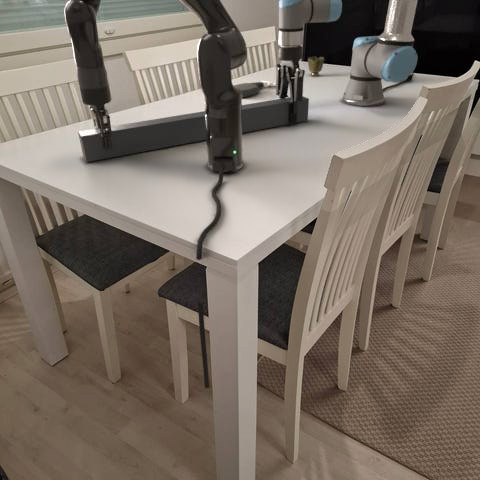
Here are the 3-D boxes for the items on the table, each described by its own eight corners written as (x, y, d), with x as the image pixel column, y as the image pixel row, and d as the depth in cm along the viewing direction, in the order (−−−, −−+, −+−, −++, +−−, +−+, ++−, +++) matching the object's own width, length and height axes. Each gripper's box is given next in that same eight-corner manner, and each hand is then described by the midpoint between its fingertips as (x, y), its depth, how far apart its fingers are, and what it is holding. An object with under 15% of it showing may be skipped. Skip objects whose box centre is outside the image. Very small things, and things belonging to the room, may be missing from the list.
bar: (86, 162, 123) (81, 136, 119) (83, 156, 126) (77, 131, 123) (307, 120, 151) (309, 98, 147) (299, 117, 154) (300, 95, 151)
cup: (304, 76, 210) (305, 58, 205) (310, 73, 215) (311, 55, 211) (319, 77, 207) (321, 59, 202) (324, 74, 212) (326, 56, 208)
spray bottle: (223, 95, 183) (259, 84, 199) (243, 99, 177) (279, 87, 193) (222, 87, 181) (259, 77, 197) (243, 91, 175) (279, 80, 191)
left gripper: (115, 87, 113) (125, 151, 122) (102, 77, 124) (113, 137, 133) (84, 91, 110) (98, 157, 119) (74, 80, 121) (87, 141, 130)
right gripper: (317, 48, 132) (312, 125, 145) (285, 40, 146) (283, 112, 158) (296, 50, 129) (293, 129, 142) (265, 43, 143) (265, 115, 155)
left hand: (105, 146), depth 126 cm, fingers closed on bar, 4 cm apart
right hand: (288, 120), depth 150 cm, fingers closed on bar, 5 cm apart
